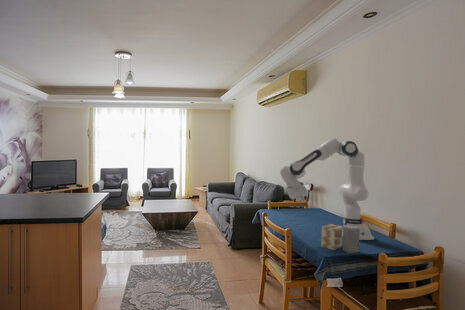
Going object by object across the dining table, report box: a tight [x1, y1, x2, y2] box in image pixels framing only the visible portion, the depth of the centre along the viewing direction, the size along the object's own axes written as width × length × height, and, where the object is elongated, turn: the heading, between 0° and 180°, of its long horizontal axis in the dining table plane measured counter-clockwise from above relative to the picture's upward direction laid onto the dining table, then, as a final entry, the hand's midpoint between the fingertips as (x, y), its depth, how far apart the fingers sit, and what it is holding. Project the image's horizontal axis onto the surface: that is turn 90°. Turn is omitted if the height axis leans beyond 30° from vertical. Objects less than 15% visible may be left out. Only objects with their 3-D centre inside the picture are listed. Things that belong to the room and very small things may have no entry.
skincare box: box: [341, 225, 360, 254], centre depth 195 cm, size 8×7×16 cm
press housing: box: [320, 223, 343, 251], centre depth 203 cm, size 9×11×14 cm
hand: (303, 202), depth 223 cm, fingers closed
